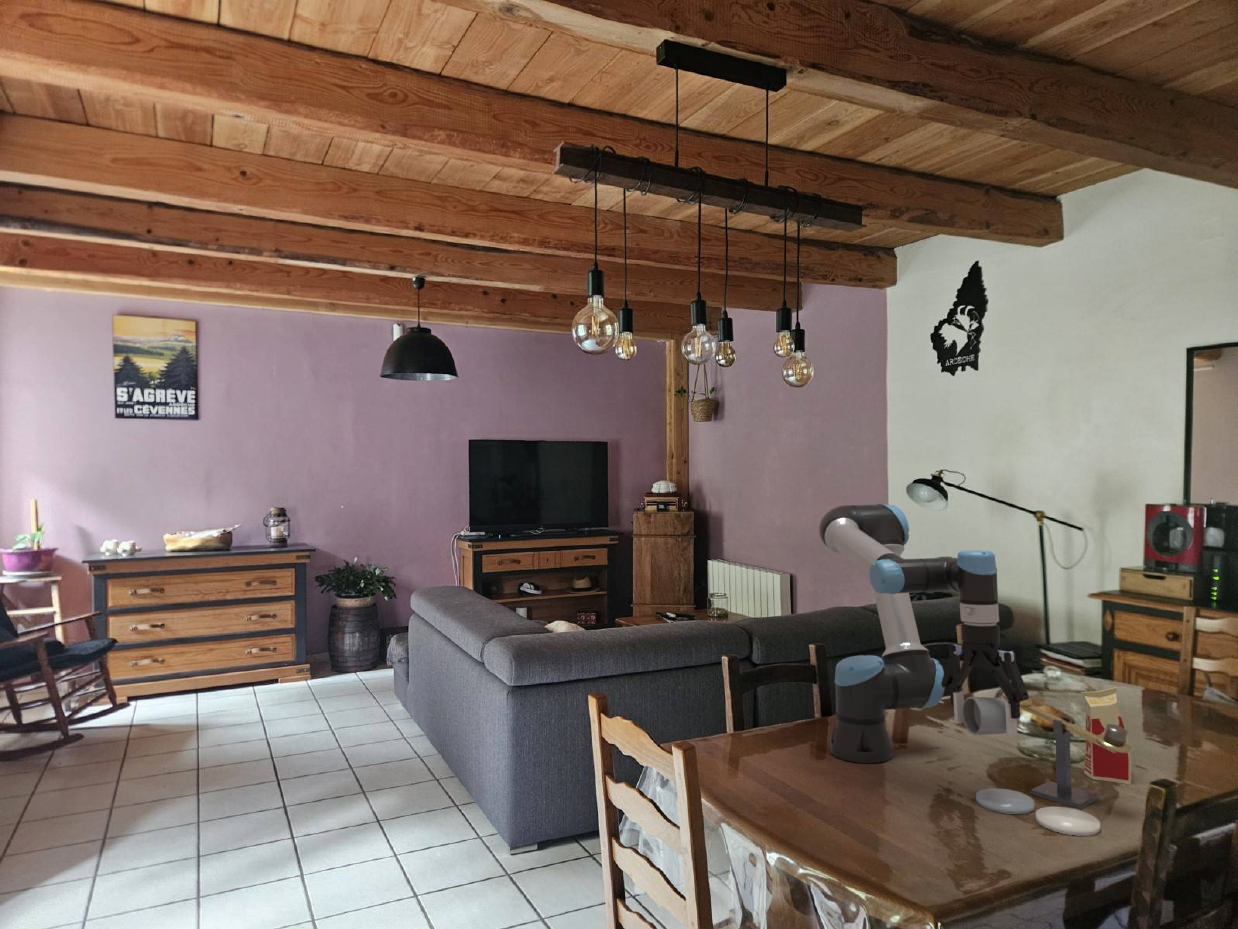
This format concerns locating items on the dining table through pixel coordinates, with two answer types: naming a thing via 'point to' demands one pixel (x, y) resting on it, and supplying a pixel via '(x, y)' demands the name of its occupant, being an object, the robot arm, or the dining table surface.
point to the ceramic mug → (984, 715)
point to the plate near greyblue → (1005, 801)
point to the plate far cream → (1068, 821)
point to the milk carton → (1097, 718)
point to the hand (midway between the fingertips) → (985, 728)
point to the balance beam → (1109, 740)
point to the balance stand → (1064, 774)
